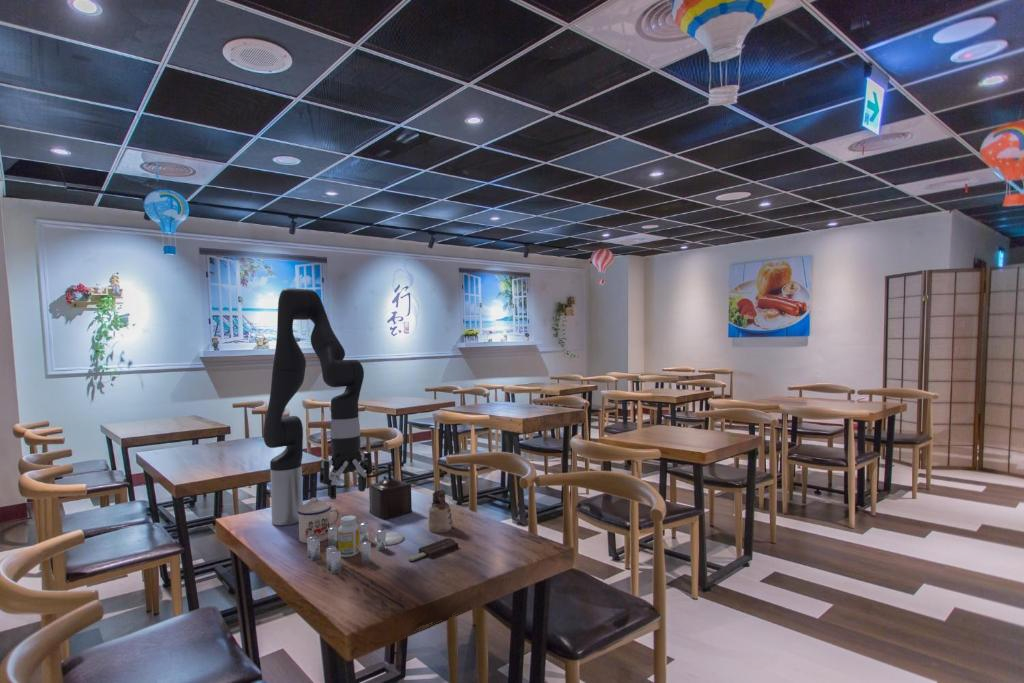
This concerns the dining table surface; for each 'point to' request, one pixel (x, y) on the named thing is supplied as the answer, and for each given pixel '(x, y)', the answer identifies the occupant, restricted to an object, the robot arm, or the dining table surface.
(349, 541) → the supplement bottle
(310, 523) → the teacup with lid
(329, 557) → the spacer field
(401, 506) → the coffee grinder
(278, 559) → the dining table surface
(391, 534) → the saucer
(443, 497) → the figurine
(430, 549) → the ice cream bar
